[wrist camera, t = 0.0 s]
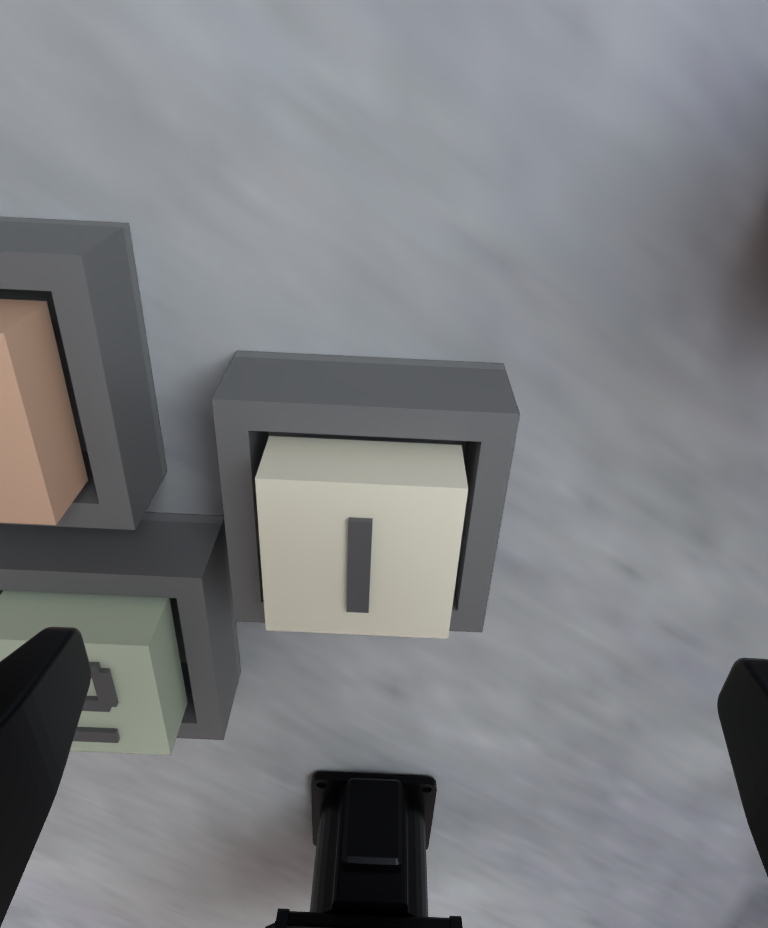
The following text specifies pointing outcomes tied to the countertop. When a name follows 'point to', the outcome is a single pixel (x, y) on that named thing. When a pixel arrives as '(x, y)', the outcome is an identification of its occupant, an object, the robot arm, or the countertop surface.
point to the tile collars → (220, 455)
